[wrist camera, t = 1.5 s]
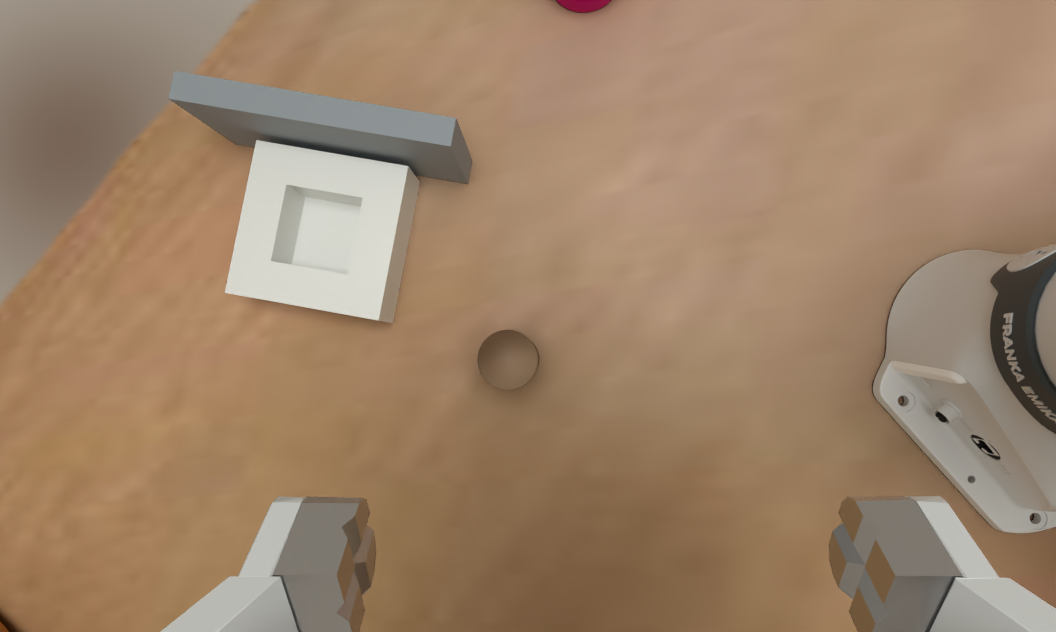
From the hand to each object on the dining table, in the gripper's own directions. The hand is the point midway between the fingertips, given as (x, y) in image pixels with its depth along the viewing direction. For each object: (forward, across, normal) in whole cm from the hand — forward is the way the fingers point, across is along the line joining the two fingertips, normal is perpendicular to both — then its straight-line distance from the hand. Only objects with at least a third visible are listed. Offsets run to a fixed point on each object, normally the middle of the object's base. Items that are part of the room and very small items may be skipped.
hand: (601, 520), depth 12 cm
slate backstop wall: (+47, -17, -8) cm, 50 cm away
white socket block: (+43, -18, -14) cm, 49 cm away
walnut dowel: (+37, -3, -22) cm, 43 cm away
